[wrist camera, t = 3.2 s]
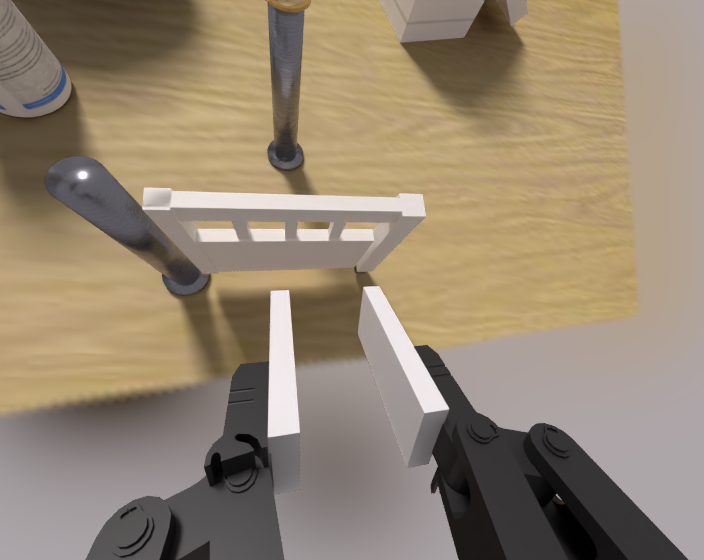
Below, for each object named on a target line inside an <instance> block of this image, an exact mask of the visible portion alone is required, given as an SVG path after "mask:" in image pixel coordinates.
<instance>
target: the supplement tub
mask: <svg viewBox="0 0 704 560" xmlns="http://www.w3.org/2000/svg"><path fill="white" fill-rule="evenodd" d="M70 93H71V80H70V77H69V75H68V73H67V72H66V70H65V69H64V68H63V66H62V65H61V64H60V62H59V61H58V60H57V59H56V57H55V56H54V55H53V53H52V52H51V51H50V50H49V48H48V47H47V46H46V44H45V43H44V42H43V41H42V39H41V38H40V37H39V35H38V34H37V33H36V32H35V30H34V29H33V28H32V26H31V25H30V24H29V23H28V21H27V20H26V19H25V17H24V16H23V15H22V14H21V12H20V11H19V10H18V8H17V7H16V6H15V5H14V3H13V2H12V1H11V0H0V112H1V113H3V114H7V115H10V116H15V117H37V116H42V115H45V114H48V113H51V112H53V111H55V110H57V109H59V108H60V107H61V106H62V105H64V104H65V102H66V101H67V100H68V98H69V96H70Z"/></svg>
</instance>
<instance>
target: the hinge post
mask: <svg viewBox="0 0 704 560" xmlns="http://www.w3.org/2000/svg"><path fill="white" fill-rule="evenodd" d="M45 186H46V188H47V190H48V192H49V193H50V194H51V195H52V196H53V197H55V198H56V199H58V200H59V201H60V202H62V203H63V204H65V205H66V206H67V207H69V208H70V209H72V210H73V211H75V212H76V213H77V214H79V215H80V216H82V217H83V218H84V219H86V220H87V221H89V222H90V223H92V224H93V225H94V226H96V227H97V228H99V229H100V230H101V231H103V232H104V233H106V234H107V235H108V236H110V237H111V238H113V239H114V240H116V241H117V242H118V243H120V244H121V245H123V246H124V247H125V248H127V249H128V250H130V251H131V252H133V253H134V254H135V255H137V256H138V257H140V258H141V259H142V260H144V261H145V262H147V263H148V264H150V265H151V266H152V267H154V268H155V269H157V270H158V271H159V272H161V273H162V279H163V282H164V284H165V286H166V287H167V288H168V289H169V290H170V291H172V292H174V293H176V294H179V295H192V294H195V293H197V292H199V291H201V290H202V289H203V288H204V287H205V286H206V284H207V283H208V280H209V277H210V274H203V273H202V272H201V271H200V270H199V269H198V268H197V267H196V266H195V265H194V264H193V263H192V262H191V261H190V259H189V258H188V257H187V256H186V255H185V254H184V253H183V252H182V251H181V250H180V249H179V248H178V247H177V246H176V245H175V244H174V243H173V242H172V240H171V239H170V238H169V237H168V236H167V235H166V234H165V233H164V232H163V231H162V230H161V229H160V228H159V227H158V226H157V225H156V224H155V223H154V221H153V220H152V219H151V218H150V217H149V216H148V215H147V214H146V213H145V212H144V211H143V210H142V207H141V206H140V205H139V204H138V203H137V201H136V200H135V199H134V198H133V197H132V196H131V195H130V194H129V193H128V192H127V191H126V190H125V189H124V188H123V186H122V185H121V184H120V183H119V182H118V181H117V180H116V179H115V178H114V177H113V176H112V175H111V174H110V173H109V172H108V170H107V169H106V168H105V167H104V166H103V165H102V164H101V163H99V162H98V161H96V160H94V159H92V158H89V157H84V156H73V157H68V158H64V159H62V160H60V161H58V162H56V163H55V164H54V165H52V166H51V167H50V169H49V170H48V171H47V173H46V176H45Z"/></svg>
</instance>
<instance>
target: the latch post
mask: <svg viewBox="0 0 704 560" xmlns="http://www.w3.org/2000/svg"><path fill="white" fill-rule="evenodd" d="M266 1H267V2H268V19H269V40H270V61H271V82H272V104H273V125H274V141H272V142H271V143H270V145H269V147H268V159H269V161H270V162H271V164H272V165H273V166H275V167H276V168H278V169H280V170H284V171H290V170H294V169H296V168H298V167H299V166H300V165H301V163H302V161H303V150H302V148H301V146H300V145H299V144H298V143H297V133H298V115H299V97H300V79H301V61H302V44H303V26H304V10H305V9H307V8H308V7H309V5H310V3H311V0H266Z"/></svg>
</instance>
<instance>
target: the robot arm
mask: <svg viewBox="0 0 704 560" xmlns="http://www.w3.org/2000/svg"><path fill="white" fill-rule="evenodd" d="M358 335H359V338H360V341H361V343H362V346H363V349H364V352H365V355H366V357H367V360H368V363H369V366H370V368H371V370H372V374H373V377H374V379H375V382H376V385H377V388H378V390H379V393H380V396H381V399H382V402H383V404H384V407H385V410H386V413H387V415H388V418H389V421H390V424H391V426H392V429H393V432H394V435H395V437H396V440H397V443H398V446H399V448H400V451H401V454H402V457H403V460H404V462H405V465H406V468H410V467H415V466H420V465H425V464H429V461H430V458H431V456H432V454H433V456H434V458H435V460H436V462H437V465H438V467H437V470H436V472H435V475H434V477H433V480H432V483H431V493H435V492H436V489H437V487H439V490H440V494H441V498H442V501H443V505H444V508H445V512H446V516H447V519H448V523H449V526H450V530H451V534H452V537H453V541H454V544H455V548H456V552H457V555H458V559H459V560H688V559H687V558H686V557H685V556H684V555H683V553H682V552H681V551H680V550H679V549H678V548H677V547H676V546H675V545H674V544H673V543H672V542H671V541H670V540H669V539H668V538H667V537H666V536H665V535H664V534H663V533H662V532H661V531H660V530H659V529H658V528H657V526H656V525H655V524H654V523H653V522H652V521H651V520H650V519H649V518H648V517H647V516H646V515H645V514H644V513H643V512H642V511H641V510H640V509H639V508H638V507H637V506H636V505H635V504H634V503H633V501H632V500H631V499H630V498H629V497H628V496H627V495H626V494H625V493H624V492H623V491H622V490H621V489H620V488H619V487H618V486H617V485H616V484H615V483H614V482H613V481H612V480H611V479H610V477H609V476H608V475H607V474H606V473H605V472H604V471H603V470H602V469H601V468H600V467H599V466H598V465H597V464H596V463H595V462H594V461H593V460H592V459H591V458H590V457H589V456H588V455H587V453H585V451H584V450H583V449H582V448H581V447H580V446H579V445H578V444H577V443H576V442H575V441H574V440H573V439H572V438H571V437H570V436H568V435H567V434H566V433H565V432H564V431H562V430H560V429H558V428H557V427H555V426H552V425H549V424H545V423H539V424H535V425H534V426H532V427H531V429H530V431H529V432H528V433H527V432H520V431H515V430H509V429H503V428H500V427H498V426H497V425H496V424H495V423H494V422H493V421H491V420H490V419H489V418H488V417H486V416H484V415H482V414H480V413H477V412H476V411H475V410H474V409H473V407H472V405H471V404H470V402H469V401H468V399H467V398H466V396H465V395H464V393H463V392H462V390H461V389H460V387H459V386H458V384H457V382H456V381H455V379H454V378H453V376H451V374H450V372H449V370H448V369H447V367H445V364H444V363H443V361H442V359H441V358H440V356H439V355H438V354H437V353H436V352H435V351H434V350H432V349H431V348H430V347H429V346H428V345H423V346H413V345H412V343H411V341H410V339H409V338H408V336H407V334H406V332H405V331H404V329H403V327H402V325H401V324H400V322H399V320H398V318H397V317H396V315H395V313H394V311H393V310H392V308H391V306H390V304H389V303H388V301H387V299H386V297H385V296H384V294H383V292H382V290H381V289H380V287H379V286H371V287H363V294H362V302H361V310H360V318H359V326H358ZM204 468H205V472H206V476H205V477H204V478H203V479H202V480H200V481H199V482H198V483H196V484H194V485H193V486H191V487H190V488H188V489H186V490H184V491H182V492H180V493H178V494H176V495H174V496H172V497H170V498H168V499H166V500H163V499H161V498H160V497H153V496H146V497H143V498H140V499H136V500H133V501H132V502H130V503H128V504H127V505H125V506H124V507H122V508H120V509H119V510H118V511H117V512H116V513H115V514H114V515H113V516H112V517H111V518H110V519H109V520H108V521H107V522H106V523H105V525H104V526H103V528H102V529H101V531H100V533H99V534H98V536H97V537H96V539H95V541H94V543H93V545H92V548H91V549H90V552H89V554H88V556H87V558H86V560H284V555H283V549H282V542H281V536H280V530H279V524H278V518H277V512H276V505H275V499H274V495H275V494H280V493H286V492H291V491H296V490H300V427H299V415H298V401H297V388H296V375H295V362H294V349H293V336H292V323H291V309H290V296H289V290H281V291H271V307H270V353H269V361H268V362H258V363H248V364H240V366H239V367H238V369H237V370H236V372H235V373H234V375H233V376H232V381H231V389H230V394H229V401H228V407H227V414H226V420H225V426H224V433H223V436H222V437H221V438H220V439H218V440H217V441H216V442H215V443H214V444H213V445H212V447H211V449H210V450H209V452H208V453H207V456H206V460H205V464H204ZM556 494H558V496H559V497H560V498H561V499H562V500H560V499H559V498H558V497H557V496H556Z"/></svg>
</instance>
